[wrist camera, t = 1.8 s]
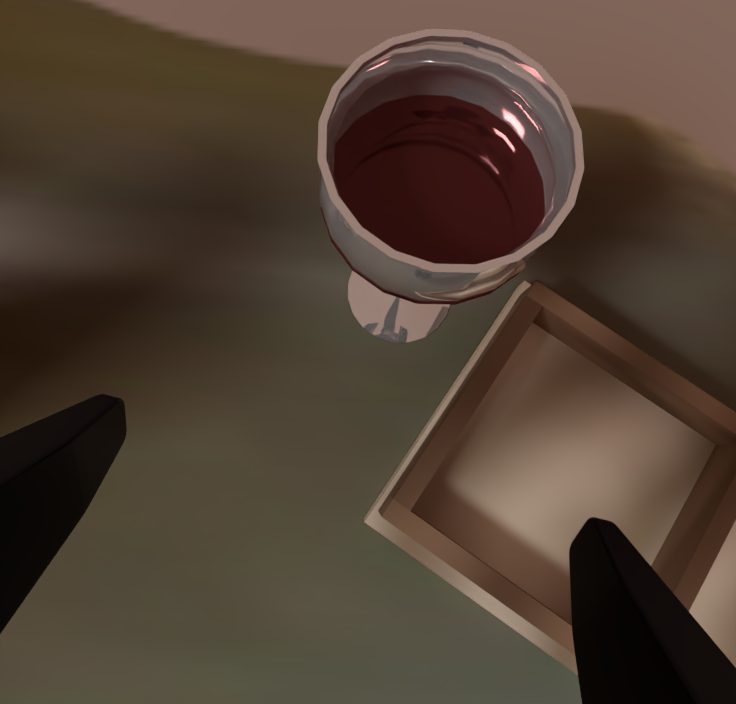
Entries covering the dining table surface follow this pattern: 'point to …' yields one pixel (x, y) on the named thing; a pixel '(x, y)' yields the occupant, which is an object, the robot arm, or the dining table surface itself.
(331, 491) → the dining table surface
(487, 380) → the brown wooden tray
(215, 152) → the dining table surface
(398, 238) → the wineglass
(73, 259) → the dining table surface
